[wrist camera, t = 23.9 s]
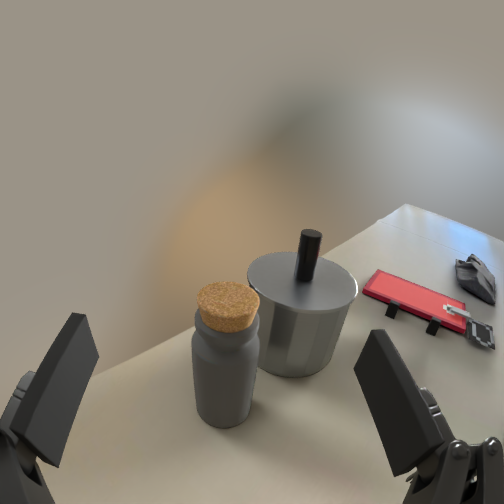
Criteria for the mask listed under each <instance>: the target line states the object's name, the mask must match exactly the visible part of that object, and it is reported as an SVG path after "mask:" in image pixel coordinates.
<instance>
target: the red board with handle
mask: <svg viewBox="0 0 504 504" xmlns="http://www.w3.org/2000/svg"><path fill="white" fill-rule="evenodd" d="M362 293H364V294H367V295H369V296H372V297H374V298H377V299H379V300H382V301H384V302H387V303H389V306H388V308H387V311H386V314H385V316H388V317H390V318H393V319H394V318H395V316H396V313H397V311H398V308H401V309H404V310H406V311H409V312H411V313H414V314H416V315H418V316H421V317H423V318H426V319H428V320H431V321H430V323H429V325H428V327H427V329H426V332H427V333H429V334H431V335H434V336H435V334H436V332H437V330H438V328H439V326H440V324H441V325H443V326H445V327H448V328H450V329H453V330H455V331H458V332H460V333H463V334H464V333H465V331H466V325H467V323H469V339H470V340H473V341H475V342H477V343H480V344H482V345H485V346H487V347H490V348H492V349H494V350H495V344H494V336H493V329H492V327H491V326H489V325H486V324H484V323H482V322H479V321H477V320H474V319H472V318H470V313H469V312H466V310H465V303H462V302H460V301H458V300H455V299H453V298H450V297H448V296H445V295H443V294H440V293H438V292H435V291H433V290H430V289H428V288H425V287H423V286H420V285H417V284H415V283H412V282H410V281H407V280H405V279H402V278H399V277H397V276H394V275H392V274H389V273H386V272H384V271H381V270H377V271H376V272H375V274H374V275H373V276H372V278H371V279H370V280H369V282H368V283H367V284H366V286H365V287H364V288H363V291H362Z"/></svg>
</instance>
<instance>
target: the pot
mask: <svg viewBox="0 0 504 504" xmlns="http://www.w3.org/2000/svg"><path fill="white" fill-rule="evenodd" d="M249 287H250V288H251V286H250V285H249ZM251 289H252V288H251ZM257 295H258V294H257ZM258 296H259V295H258ZM259 300H260V304H259V307H258V309H257V313H258V315H259V328H258V332H257V335H258V337H259V339H260V352H259V359H258V365H257V366H259V367H260V368H262V369H263V370H265V371H267V372H269V373H272V374H275V375H278V376H283V377H291V378H295V377H305V376H309V375H312V374H314V373H317V372H318V371H320V370H321V369H323V368H324V367H325V366H326V365H327V363H328V362H329V361H330V359H331V357H332V354H333V351H334V349H335V346H336V343H337V341H338V338H339V335H340V332H341V330H342V327H343V324H344V321H345V318H346V315H347V312H348V309H349V306H350V305H349V306H347V307H346V308H344V309H341V310H339V311H336V312H331V313H325V314H308V313H300V312H295V311H291V310H287V309H284V308H281V307H278V306H276V305H274V304H272V303H270V302H268V301H266V300H265V299H263V298H262V297H260V296H259Z"/></svg>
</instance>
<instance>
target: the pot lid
mask: <svg viewBox="0 0 504 504" xmlns="http://www.w3.org/2000/svg"><path fill="white" fill-rule="evenodd" d="M321 241H322V233H320V232H318V231H316V230H312V229H304V230H302V231H301V236H300V242H299V247H298V252H278V253H271V254H267V255H264V256H261V257H259V258H257V259H256V260H254V261H253V262H252V263H251V264H250V266H249V268H248V272H247V279H248V282H249V284H250V286H251V288H252V289H253V290H254V291H255V292H256V293H257V294H258V295H259V296H260V297H262V298H263V299H265V300H266V301H268V302H270V303H272V304H274V305H276V306H278V307H281V308H284V309H287V310H291V311H295V312H300V313H308V314H325V313H331V312H336V311H339V310H341V309H344V308H346V307H347V306H349V305H350V304H351V303H352V302H353V301H354V299H355V297H356V294H357V284H356V282H355V280H354V278H353V277H352V276H351V274H350V273H349V272H348V271H346V270H345V269H344V268H342V267H341V266H339V265H338V264H336V263H334V262H332V261H329V260H327V259H324V258H322V257H318V256H319V250H320V245H321Z"/></svg>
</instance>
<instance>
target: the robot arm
mask: <svg viewBox="0 0 504 504" xmlns="http://www.w3.org/2000/svg"><path fill="white" fill-rule="evenodd" d="M98 358H99V355H98V352H97V349H96V346H95V343H94V340H93V337H92V334H91V330H90V327H89V324H88V320H87V317H86V315H85V314H79V313H72V314H71V315H70V317H69V318H68V320H67V321H66V323H65V325H64V326H63V328H62V329H61V331H60V333H59V334H58V336H57V337H56V339H55V341H54V342H53V344H52V345H51V347H50V349H49V351H48V352H47V354H46V356H45V357H44V359H43V361H42V363H41V364H40V366H39V368H38V370H37V372H36V373H35V372H32V371H28V373H26V374H25V375H24V376H23V377H22V378H21V380H20V381H19V383H18V385H17V387H16V389H15V391H14V393H13V396H11V398H10V400H9V402H8V405H7V406H6V408H5V410H4V413H3V415H2V417H1V419H0V504H55V502H54V500H53V498H52V496H51V494H50V492H49V489H48V487H47V485H46V483H45V480H44V478H43V476H42V473H41V471H40V468H39V466H38V464H37V462H36V457H37V456H38V457H39V458H40V459H41V460H42V461H43V462H45V463H48V464H50V465H52V466H55V467H57V468H59V464H60V461H61V458H62V454H63V451H64V448H65V445H66V442H67V439H68V436H69V433H70V430H71V427H72V424H73V421H74V418H75V416H76V413H77V410H78V407H79V405H80V402H81V400H82V397H83V394H84V392H85V389H86V387H87V384H88V382H89V379H90V377H91V375H92V372H93V370H94V367H95V365H96V363H97V360H98ZM354 371H355V374H356V376H357V379H358V381H359V384H360V386H361V389H362V391H363V394H364V396H365V399H366V401H367V404H368V406H369V409H370V412H371V414H372V417H373V419H374V422H375V425H376V427H377V430H378V433H379V436H380V438H381V441H382V444H383V447H384V449H385V452H386V455H387V458H388V461H389V464H390V466H391V469H392V472H393V475H394V477H396V476H399V475H402V474H404V473H407V472H409V471H411V470H412V469H413V468H415V467H417V471H416V472H415V473H413V474H412V475H411V476H409V477H408V478H407V479H406V482H408V481H409V480H411V479H412V478H413V480H412V481H411V482H410V483H411V485H410V487H409V490H408V492H407V494H406V497H405V499H404V501H403V504H504V459H503V449H502V445H501V443H500V441H499V440H498V439H497V438H495V437H488V438H487V439H486V440H485V441H484V442H483V443H482V444H473V445H468V444H467V443H466V442H464V441H462V440H456V439H455V437H454V435H453V433H452V431H451V429H450V427H449V425H448V423H447V421H446V420H445V418H444V416H443V414H442V412H441V410H440V408H439V406H438V405H437V402H436V401H435V399H434V397H433V395H432V394H431V393H430V392H429V391H428V390H427V389H426V388H425V387H423V388H418V386H417V385H416V383H415V381H414V379H413V377H412V376H411V374H410V372H409V370H408V368H407V367H406V365H405V363H404V361H403V360H402V358H401V356H400V354H399V353H398V351H397V349H396V347H395V346H394V344H393V342H392V341H391V339H390V337H389V336H388V334H387V332H386V331H385V329H379V330H371V332H370V334H369V337H368V339H367V341H366V343H365V346H364V348H363V350H362V352H361V354H360V356H359V358H358V361H357V363H356V365H355V367H354ZM476 475H477V481H474V477H475V476H476Z"/></svg>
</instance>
